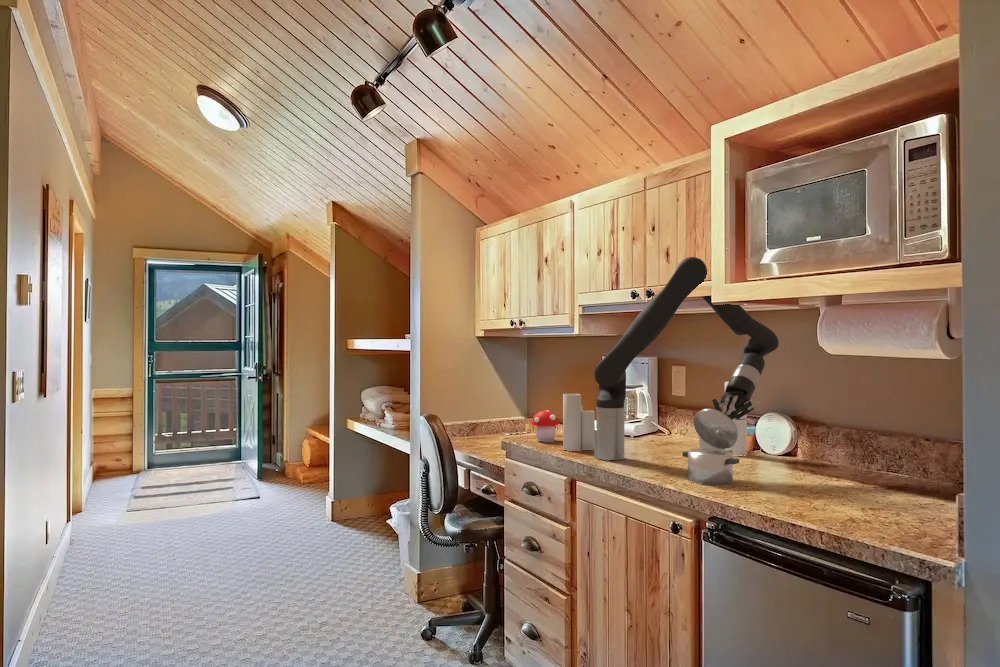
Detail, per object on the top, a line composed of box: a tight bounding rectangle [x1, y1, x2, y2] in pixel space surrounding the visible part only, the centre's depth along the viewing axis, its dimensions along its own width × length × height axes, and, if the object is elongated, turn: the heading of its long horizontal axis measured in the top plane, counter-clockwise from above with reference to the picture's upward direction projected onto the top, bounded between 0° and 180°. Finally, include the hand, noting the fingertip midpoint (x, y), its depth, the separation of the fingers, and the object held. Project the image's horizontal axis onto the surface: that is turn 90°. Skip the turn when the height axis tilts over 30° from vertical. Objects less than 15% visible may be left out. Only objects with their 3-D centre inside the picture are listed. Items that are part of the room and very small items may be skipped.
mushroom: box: [530, 409, 559, 443], centre depth 253 cm, size 11×11×12 cm
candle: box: [562, 393, 596, 452], centre depth 234 cm, size 11×7×20 cm, turn 107°
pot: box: [682, 448, 740, 486], centre depth 183 cm, size 16×14×8 cm
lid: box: [693, 407, 738, 449], centre depth 185 cm, size 13×13×3 cm
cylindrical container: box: [724, 381, 748, 456], centre depth 223 cm, size 7×7×25 cm
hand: (721, 427), depth 187 cm, fingers closed
